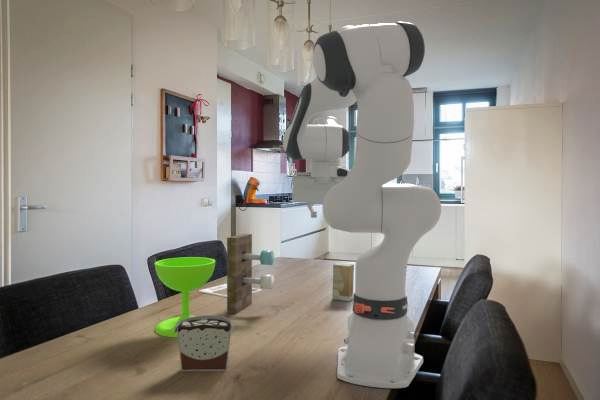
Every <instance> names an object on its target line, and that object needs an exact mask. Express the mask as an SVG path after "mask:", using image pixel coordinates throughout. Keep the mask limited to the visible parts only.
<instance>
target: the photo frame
mask: <svg viewBox="0 0 600 400" xmlns="http://www.w3.org/2000/svg"><path fill="white" fill-rule="evenodd" d="M225 290H226V291H227V283H224V284H220V285H215V286H212V287H211V286H210V287H207V288H203V289H200V290H198V292H199V293H203V294H207V295H212V296H213V295H214V296H218V297H223V298H227V294H221V293H219V292H221V291H225ZM262 291H263V289H261V288H254V287H252V295H253V294H257V293H261V292H262ZM217 292H218V293H217Z"/></svg>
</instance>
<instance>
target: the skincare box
mask: <svg viewBox="0 0 600 400" xmlns="http://www.w3.org/2000/svg"><path fill="white" fill-rule="evenodd" d="M332 267H333V268H332V293H331V294H332V297H331V298H332V300H334V301H343V302H347V303H348V302H351V301H353V295H354V281H355V280H354V279H355V264H352V263H348V262H347V263H345V262H336V263H334V264H333V266H332Z"/></svg>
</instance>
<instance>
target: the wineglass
mask: <svg viewBox="0 0 600 400" xmlns="http://www.w3.org/2000/svg"><path fill="white" fill-rule="evenodd" d="M215 266H216V259H214V258H209V257H202V256H201V257H199V256H195V257H194V256H188V257H187V256H186V257H184V256H183V257H173V258H165V259H164V258H163V259H161V260H157V261H154V268H155V272H156V275H157V277H158V279H159V280H160V281H161V282H162V283H163V285H165V287H167V288H169V289H171V290H173V291H176V292H181V315H180V316H176V317H170V318H167V319H165V320H163V321H160V322H159V323H158V324H157V325H155V329H154V332H155V333H156V334H158V335H159V336H163V337H166V338H167V337H169V338H178V336H177V332H175V333H174V330H175V326H176V325H177V322H179V321H180V320H183V319H186V318H189V317H194V316H195V315H191V314H190V292H192V291H194V290H197V289H199V288H201V287H202V286H204V285H205V284H206V283H207V282H208V281H209V280H210V279H211V277H212V275H213V273H214V271H215Z"/></svg>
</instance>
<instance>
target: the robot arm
mask: <svg viewBox="0 0 600 400" xmlns="http://www.w3.org/2000/svg"><path fill="white" fill-rule="evenodd" d="M425 44H426V43H425V40H424V36H423V34H422V32H421V31H420V29H419V28H418V26H416V24H414V23H411V22H405V21H396V22H393V23H378V24H377V23H376V24H370V25H369V24H362V25H356V26H354V25H346V26H345V25H344V26H342V27H338V28H337V29H335V30H332V31H329V32H326V33H324V34H322V35H321V36H319V37H318V38H317V40H316V42H314V45H313V50H312V52H313V53H312V55H313V56H312V63H313V64H312V66H313V69H314V72H315V75H316V77H315V78H314V79H313V80H312V81H310V82H309V83H307V84H305V85H304V86H303V88H302V90H301V91H300V94H299V96H298V99H297V102H296V104H295V107H294V110H293V113H292V116H291V117H290V121H289V123H288V126H287V127H286V129H285V132H284V134H283V138H282V146H283V151H284V153H285V154H286V156H287V157H288V158H289V159H291V160H293V161H300V160H301V161H302V160H310V169H309V170H310V171H305V172H301V171H299V172H296V173H295V174H293V175H292V177H291V183H292V184H291V185H292V191H291V200H292V202H294V203H306V204H307V205H306V206H307V209H308V210H309V212H310V218H312V219H313V218H315V219H316V218H317V217H318V211H315V210H314V209H313V206H314V203H320V204H321V203H322V214H323V218H324V219H325V221H326V224H328V226H329V227H330V228H331V229H332V230H337V231H342V232H348V233H355V234H356V233H359V234H367V233H368V234H370V233H371V234H372V233H373V234H374V233H375V234H376V233H377V234H382V235H383V239H382V241H381V242H380V243H379V244H378V245H376V246H373V247H372V248H369V249H368V250H366V251H363V252H362V253H361V254H360V255H359V256H358V257H357V259H356V262H355V264H354V279H355V280H354V282H355V283H354V285H355V286H354V289H355V290H354V292H353V299H352V313H351V314H350V315H349V316H347V337H344V338H343V343H344V346H341V347H338V349H337V368H336V377H337V379H339V380H342V381H344V382H346V383H350V384H353V385H358V386H365V387H371V388H381V389H403V388H407V387H409V385H410V384H411V382H412V381H413V380H414V378H415V377H416V374H417V373H418V371H419V369H420V368H421V366H422V365H423V363H424V356H422V355H420V354H418V353H416V352H415V350H416V348H415V337H416V335H415V334H416V333H415V323H414V322H413V320H411V319H410V317H409V316H408V307H409V302H408V296H407V295H406V283H407V282H406V280H407V271H408V270H407V269H408V268H407V267H408V262H409V258H410V256H411V253H412V252H413V249H414V247H415V246H416V244H417V243H418V242H419V241H420V240H421V238H423V236H425V235H426V234H428V232H430V231H431V230H432V229H434V227H435V226H436V225H437V224H438V222H439V220H440V217H441V213H442V203H441V201H440V200H441V199H440V197H439V196H438V194H437V192H436V191H435V190H434V189H433V188H432V187H428V186H424V185H419V184H413V183H389V182H391V181H394V180H396V179H398V178H399V177H400V176H402V175H403V174H404V173H405V171H406V170H407V169H408V168H409V166H410V164H411V160H412V150H413V139H414V137H413V136H414V127H415V126H414V125H415V124H414V123H415V108H414V106H415V105H414V94H413V88H412V85H411V83H410V81H409V80H408V79H407V78H406V77H409V76H411V75H412V74H414V73H416V72H417V71H418V70H420V68H421V66H422V63H423V61H424V58H425V50H426V46H425ZM355 103H357V104H356V106H357V109H356V110H357V115H356V127H355V129H356V131H355V134H356V137H355V153H354V161H353V164H352V167H351V169H349V168H346V167H343V166H341V165H340V164H341V162H340V159H341V158H344V157H345V156H346V155H347V154H348V153H349V152H350V132H349V131H348V130H347V129H346V128H345V127H344V126H343V125H339V121H338V119H337V118H336V117H334V116H331V115H330V116H329V115H323V116H318V117H316V118H315V119H313V121H312V124H311V123H310V120H311V118H313V117H314V116H316V115H319V114H322V113H326V112H332V111H338V110H339V111H340V110H342V109H346V108H349V107H351V106H352V105H354V104H355ZM309 123H310V124H309ZM345 345H346V346H345Z"/></svg>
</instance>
